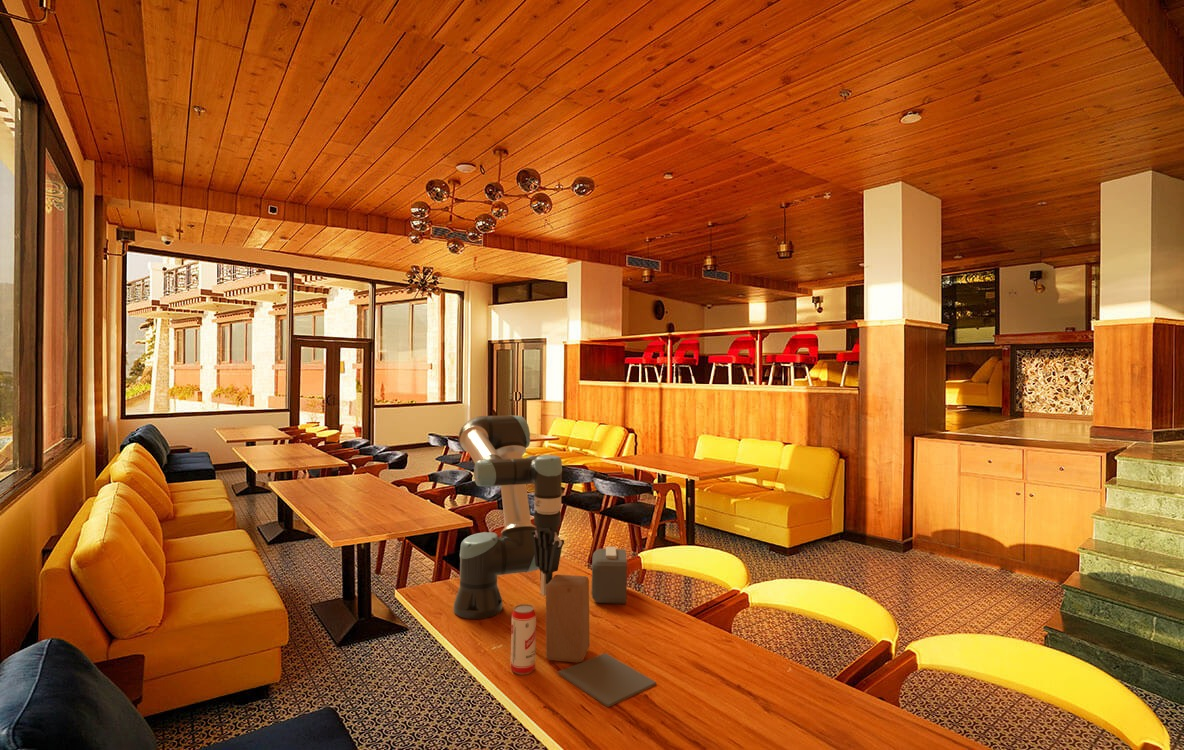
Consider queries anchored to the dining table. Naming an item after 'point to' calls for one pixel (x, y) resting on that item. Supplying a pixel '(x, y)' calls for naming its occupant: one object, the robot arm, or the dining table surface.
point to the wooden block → (567, 618)
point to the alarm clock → (609, 575)
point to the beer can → (523, 639)
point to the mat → (606, 679)
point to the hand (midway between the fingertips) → (546, 594)
